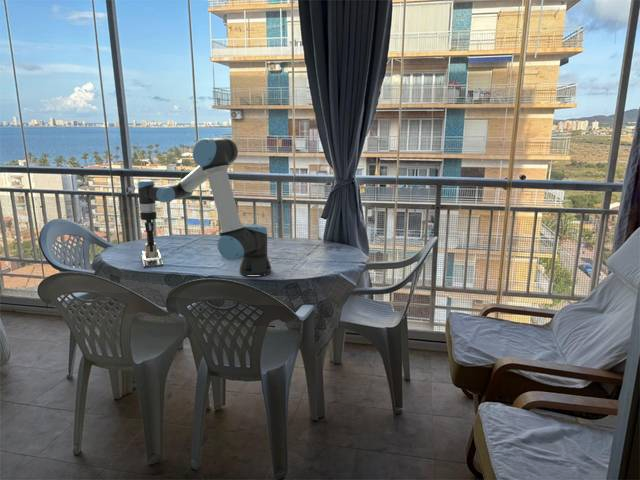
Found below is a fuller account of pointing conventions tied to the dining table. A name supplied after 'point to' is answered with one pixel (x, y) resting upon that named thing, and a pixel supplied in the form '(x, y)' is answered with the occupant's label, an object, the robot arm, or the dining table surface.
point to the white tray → (152, 260)
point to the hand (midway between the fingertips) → (151, 256)
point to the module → (148, 250)
